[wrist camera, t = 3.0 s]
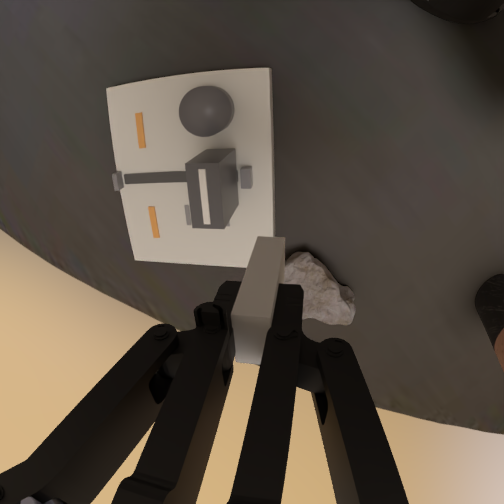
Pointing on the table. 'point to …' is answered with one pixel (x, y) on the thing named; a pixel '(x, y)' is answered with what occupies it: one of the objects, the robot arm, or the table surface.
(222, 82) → the console
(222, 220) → the fader
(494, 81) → the table surface
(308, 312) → the stone
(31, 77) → the table surface
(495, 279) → the travel mug
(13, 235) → the table surface
